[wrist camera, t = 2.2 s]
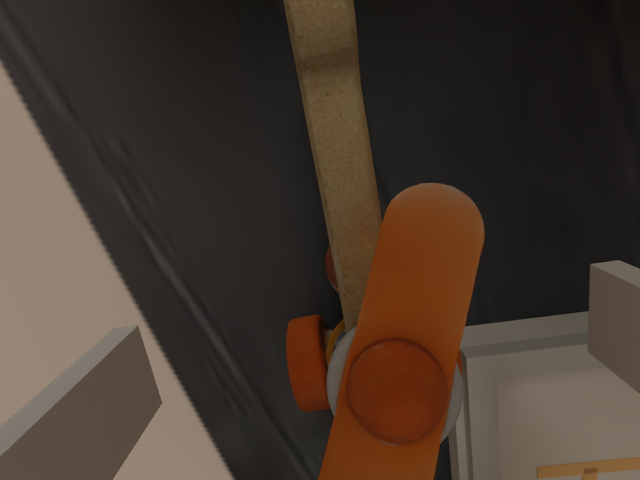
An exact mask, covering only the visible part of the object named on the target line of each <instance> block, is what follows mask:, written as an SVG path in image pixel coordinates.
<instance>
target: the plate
mask: <svg viewBox="0 0 640 480" xmlns="http://www.w3.org/2000/svg"><path fill="white" fill-rule="evenodd" d="M588 325H589V311H586V312H578V313H570V314H562V315H554V316H546V317H538V318H530V319H522V320H513V321H505V322H497V323H489V324H481V325H473V326H465V329H464V332H463V336H462V340H461V344H460V353H461V360H462V386H463V399H462V407H461V410H460V414H459V417H458V419H457V421H456V423H455V425H454V427H453V428H452V430H451V432H450V433H449V435H448V438H449V450H450V463H451V475H452V480H640V394H639V393H638V392H637V391H635V390H634V389H633V388H632V387H630V386H629V385H628V384H627V383H625V382H624V381H623V380H622V379H621V378H619V377H618V376H617V375H616V374H614V373H613V372H612V371H611V370H610V369H608V368H607V367H606V366H605V365H603V364H602V363H601V362H600V361H599V360H597V359H596V358H595V357H594V356H592V355H591V354H590V353H589V352H588Z"/></svg>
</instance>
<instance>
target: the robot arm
mask: <svg viewBox="0 0 640 480" xmlns="http://www.w3.org/2000/svg"><path fill="white" fill-rule="evenodd" d="M588 352H589V353H590V354H591V355H592V356H594V357H595V358H596V359H597V360H599V361H600V362H601V363H602V364H603V365H605V366H606V367H607V368H608V369H610V370H611V371H612V372H613V373H614V374H616V375H617V376H618V377H619V378H621V379H622V380H623V381H624V382H625V383H627V384H628V385H629V386H630V387H632V388H633V389H634V390H635V391H637V392H638V393H639V394H640V269H639V268H637V267H634V266H632V265H629V264H627V263H625V262H622V261H620V260H617V261H610V262H602V263H595V264H590V288H589V325H588ZM161 404H162V401H161V398H160V395H159V391H158V388H157V385H156V382H155V379H154V375H153V372H152V369H151V366H150V363H149V359H148V356H147V353H146V350H145V347H144V343H143V340H142V337H141V334H140V331H139V328H138V326H131V327H123V328H116V329H113V330H112V331H110V332H109V333H108V334H107V335H106V336H105V337H104V338H102V339H101V340H100V341H99V342H98V343H97V344H95V345H94V346H93V347H92V348H91V349H90V350H88V351H87V352H86V353H85V354H84V355H83V356H81V357H80V358H79V359H78V360H77V361H76V362H74V363H73V364H72V365H71V366H70V367H69V368H67V369H66V370H65V371H64V372H63V373H62V374H61V375H59V376H58V377H57V378H56V379H55V380H54V381H52V382H51V383H50V384H49V385H48V386H47V387H45V388H44V389H43V390H42V391H41V392H40V393H39V394H37V395H36V396H35V397H34V398H33V399H32V400H30V401H29V402H28V403H27V404H26V405H24V407H22V408H21V409H20V410H19V411H18V412H16V413H15V414H14V415H13V416H12V417H11V418H9V419H8V420H7V421H6V422H5V423H4V424H3V425H1V426H0V480H113V478H114V477H115V475H116V474H117V472H118V470H119V469H120V467H121V466H122V464H123V463H124V461H125V459H126V458H127V456H128V455H129V453H130V452H131V450H132V449H133V447H134V446H135V444H136V443H137V441H138V439H139V438H140V436H141V435H142V433H143V432H144V430H145V428H146V427H147V426H148V424H149V422H150V421H151V419H152V418H153V416H154V415H155V413H156V412H157V410H158V408H159V407H160V405H161Z"/></svg>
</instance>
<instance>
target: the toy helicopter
mask: <svg viewBox="0 0 640 480" xmlns="http://www.w3.org/2000/svg"><path fill="white" fill-rule="evenodd" d="M283 1H284V7H285V12H286V18H287V23H288V29H289V34H290V40H291V45H292V50H293V55H294V60H295V65H296V70H297V75H298V80H299V84H300V90H301V95H302V101H303V106H304V111H305V117H306V123H307V128H308V133H309V139H310V144H311V149H312V154H313V159H314V164H315V169H316V174H317V179H318V185H319V190H320V195H321V200H322V205H323V211H324V216H325V221H326V227H327V232H328V237H329V243H330V244H329V248H328V250H327V253H326V257H325V267H326V273H327V276H328V279H329V280H330V282H331V284H332V286H333V287H334V289H335V290H336V291H337V292H338V293H339V296H340V301H341V307H342V312H343V317H344V319H343V320H342V321H341V322H340V323H339V324H338V325H337V326H336V328H335V329H331V330H327V328H326V324H325V322H324V320H323V318H322V317H321V316H320V315H310V316H304V317H299V318H295V319H292V320H291V321H289V323H288V329H287V335H286V353H287V364H288V372H289V378H290V383H291V387H292V391H293V395H294V397H295V400H296V402H297V405H298V406H299V408H300V409H301V410H302V411H304V412H311V411H318V410H325V409H330V408H331V410H332V413H333V415H334V420H333V424H332V428H331V432H330V436H329V439H328V443H327V447H326V451H325V455H324V459H323V463H322V467H321V471H320V474H319V478H318V480H433V479H434V475H435V470H436V464H437V459H438V453H439V447H440V443H441V442H442V441H443V440H444V439H445V438H446V437H447V436H448V435H449V433H450V432H451V430H452V428H453V427H454V425H455V423H456V421H457V419H458V417H459V414H460V410H461V407H462V399H463V386H462V360H461V353H460V344H461V340H462V336H463V332H464V329H465V324H466V319H467V314H468V310H469V305H470V301H471V297H472V292H473V287H474V282H475V277H476V272H477V268H478V265H479V260H480V255H481V252H482V248H483V245H484V240H485V233H484V223H483V219H482V216H481V214H480V211H479V210H478V208H477V206H476V205H475V203H474V202H473V201H472V200H471V199H470V197H468V196H467V195H465V194H464V193H463V192H461V191H459V190H458V189H456V188H454V187H453V186H448V185H444V184H439V183H421V184H418V185H415V186H412V187H409V188H407V189H405V190H404V191H402V192H401V193H399V194H398V195H397V196H396V197H394V198H393V199H392V201H391V202H390V204H389V205H388V207H387V210H386V212H385V215H384V218H383V222H382V218H381V210H380V204H379V197H378V191H377V184H376V178H375V171H374V165H373V159H372V152H371V146H370V140H369V133H368V127H367V121H366V114H365V108H364V102H363V95H362V89H361V80H360V70H359V57H358V39H357V28H356V17H355V9H354V1H353V0H283Z"/></svg>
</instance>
